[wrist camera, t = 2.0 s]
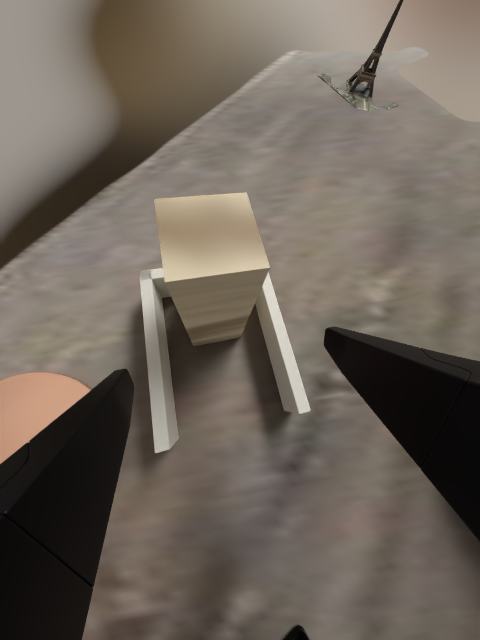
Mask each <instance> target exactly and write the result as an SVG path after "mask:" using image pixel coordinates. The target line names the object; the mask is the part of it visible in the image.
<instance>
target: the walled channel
mask: <svg viewBox="0 0 480 640" xmlns="http://www.w3.org/2000/svg"><path fill="white" fill-rule="evenodd" d="M139 273H140V284H141V296H142V308H143V319H144V331H145V343H146V354H147V366H148V378H149V390H150V401H151V413H152V425H153V436H154V448H155V453H159V452H162V451H166V450H170V448H171V447H172V446H173V445H174V444H175V443H176V442H177V440H178V439H179V436H178V427H177V419H176V410H175V402H174V394H173V385H172V377H171V369H170V360H169V352H168V343H167V335H166V327H165V318H164V310H163V301H162V298H165V297H171V295H170V293H169V290H168V288H167V286H166V284H165V280H164V272H163V268H159V269H151V270H143V271H139ZM255 305H256V309H257V313H258V316H259V320H260V324H261V327H262V331H263V335H264V339H265V342H266V346H267V350H268V353H269V357H270V361H271V364H272V368H273V372H274V376H275V379H276V383H277V387H278V390H279V394H280V398H281V401H282V405H283V409H284V411H288V412H292V413H297V414H301V413H305V412H308V411H311V410H310V406H309V403H308V400H307V397H306V393H305V390H304V387H303V384H302V380H301V377H300V374H299V371H298V367H297V364H296V361H295V358H294V354H293V351H292V348H291V345H290V341H289V338H288V335H287V332H286V328H285V325H284V322H283V319H282V315H281V312H280V309H279V306H278V302H277V299H276V296H275V293H274V289H273V286H272V283H271V280H270V276H269V273H268V274H267V276H266V278H265V281H264V283H263V285H262V288H261V290H260V293H259V295H258V297H257V300H256V302H255Z"/></svg>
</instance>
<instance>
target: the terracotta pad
mask: <svg viewBox="0 0 480 640" xmlns="http://www.w3.org/2000/svg"><path fill="white" fill-rule="evenodd" d="M91 390H92V389H91V388H90V387H88V386H87V385H85V384H84V383H82V382H80V381H78V380H76V379H74V378H71V377H68V376H65V375H60V374H53V373H27V374H21V375H17V376H12V377H9V378H6V379H3V380H0V464H1V463H2V462H3V461H5V460H6V459H7V458H8V457H10V456H11V455H12V454H13V453H15V452H16V451H17V450H18V449H19V448H21V447H22V446H23V445H24V444H26V443H29V441H30V440H31V439H32V438H33V437H34V436H35V435H37V434H38V433H39V432H40V431H42V430H43V429H44V428H45V427H47V426H48V425H49V424H50V423H51V422H53V421H54V420H55V419H56V418H58V417H59V416H60V415H61V414H62V413H64V412H65V411H66V410H67V409H69V408H70V407H71V406H72V405H74V404H75V403H76V402H77V401H78V400H80V399H81V398H82V397H83V396H85V395H86V394H87V393H88V392H89V391H91Z"/></svg>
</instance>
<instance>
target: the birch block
mask: <svg viewBox="0 0 480 640" xmlns="http://www.w3.org/2000/svg"><path fill="white" fill-rule="evenodd" d="M154 201H155V209H156V217H157V225H158V233H159V240H160V248H161V256H162V264H163V272H164V280H165V284H166V286H167V288H168V290H169V293H170V295H171V297H172V299H173V302H174V304H175V306H176V308H177V311H178V313H179V315H180V317H181V319H182V322H183V324H184V326H185V328H186V331H187V333H188V335H189V337H190V340H191V342H192V344H193V346H198V345H203V344H208V343H214V342H219V341H224V340H229V339H234V338H239V337H241V335H242V333H243V331H244V328H245V326H246V323H247V321H248V319H249V316H250V314H251V312H252V309H253V307H254V304H255V302H256V300H257V297H258V295H259V293H260V290H261V288H262V285H263V283H264V281H265V278H266V276H267V274H268V271H269V269H270V266H269V263H268V260H267V256H266V253H265V250H264V247H263V244H262V241H261V237H260V234H259V231H258V228H257V225H256V221H255V218H254V215H253V212H252V209H251V205H250V202H249V199H248V196H247V193H233V194H219V195H204V196H190V197H176V198H162V199H154Z"/></svg>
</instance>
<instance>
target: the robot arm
mask: <svg viewBox="0 0 480 640" xmlns="http://www.w3.org/2000/svg"><path fill="white" fill-rule="evenodd" d="M324 346H325V348H326V350H327V351H328V353H329V354H330V356H331V357H332V359H333V360H334V362H335V363H336V365H337V366H338V368H339V369H340V371H341V372H342V374H343V375H344V376H345V377H346V379H347V380H348V381H349V382H350V383H351V385H352V386H353V387H354V388H355V390H356V391H357V392H358V393H359V394H360V396H361V397H362V398H363V399H364V401H365V402H366V403H367V404H368V405H369V407H370V408H371V409H372V410H373V411H374V413H375V414H376V415H377V416H378V418H379V419H380V420H381V421H382V422H383V424H384V425H385V426H386V427H387V429H388V430H389V431H390V432H391V433H392V435H393V436H394V437H395V438H396V440H397V441H398V442H399V443H400V444H401V446H402V447H403V448H404V449H405V451H406V452H407V453H408V454H409V455H410V457H411V458H412V459H413V460H414V461H415V463H416V464H417V465H418V466H419V468H421V470H422V471H423V473H424V474H425V475H426V476H427V478H428V479H429V480H430V481H431V482H432V484H433V485H434V486H435V487H436V489H437V490H438V491H439V492H440V493H441V495H442V496H443V497H444V498H445V500H446V501H447V502H448V503H449V504H450V506H451V507H452V508H453V509H454V511H455V512H456V513H457V514H458V515H459V517H460V518H461V519H462V520H463V522H464V523H465V524H466V525H467V526H468V528H469V529H470V530H471V531H472V533H473V534H474V535H475V536H476V537H477V539H478V540H479V541H480V361H475V360H471V359H466V358H461V357H457V356H452V355H448V354H444V353H439V352H435V351H431V350H427V349H423V348H418V347H415V346H411V345H407V344H403V343H399V342H395V341H391V340H387V339H383V338H379V337H375V336H371V335H367V334H363V333H359V332H355V331H351V330H347V329H343V328H339V327H329V328H327V329H326V330H325V336H324ZM133 394H134V385H133V382H132V379H131V377H130V374H129V372H128V370H127V369H120V370H116V371H114V372H113V373H112V374H110V375H109V376H108V377H107V378H105V379H104V380H103V381H102V382H100V383H99V384H98V385H97V386H96V387H94V388H93V389H92V390H91V391H89V392H88V393H87V394H86V395H85V396H83V397H82V398H81V399H80V400H78V401H77V402H76V403H75V404H74V405H72V406H71V407H70V408H69V409H67V410H66V411H65V412H64V413H62V414H61V415H60V416H59V417H58V418H56V419H55V420H54V421H53V422H51V423H50V424H49V425H48V426H47V427H45V428H44V429H43V430H42V431H40V432H39V433H38V434H37V435H35V436H34V437H33V438H32V439H31V440H30V441H29V443H26V444H24V445H23V446H22V447H21V448H19V449H18V450H17V451H16V452H15V453H13V454H12V455H11V456H10V457H8V458H7V459H6V460H5V461H3V462H2V463H1V464H0V640H82V636H83V632H84V627H85V623H86V618H87V614H88V610H89V605H90V601H91V596H92V592H93V588H92V587H93V586H94V582H95V578H96V573H97V569H98V565H99V560H100V556H101V551H102V547H103V543H104V538H105V534H106V529H107V525H108V521H109V516H110V512H111V507H112V503H113V499H114V494H115V490H116V485H117V481H118V477H119V472H120V468H121V463H122V459H123V455H124V450H125V446H126V441H127V437H128V433H129V428H130V422H131V414H132V404H133ZM300 636H302V639H301V640H310V639H309V637H308V635H307V634H306V632H305V630H304V628H303V627H302V626H300V625H298V626H296V627H295V628H294V629H293V630H292V631H291V632H290V633H289V634H288V636H287V637H286V638H285V639H284V640H298V638H299V637H300Z"/></svg>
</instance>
